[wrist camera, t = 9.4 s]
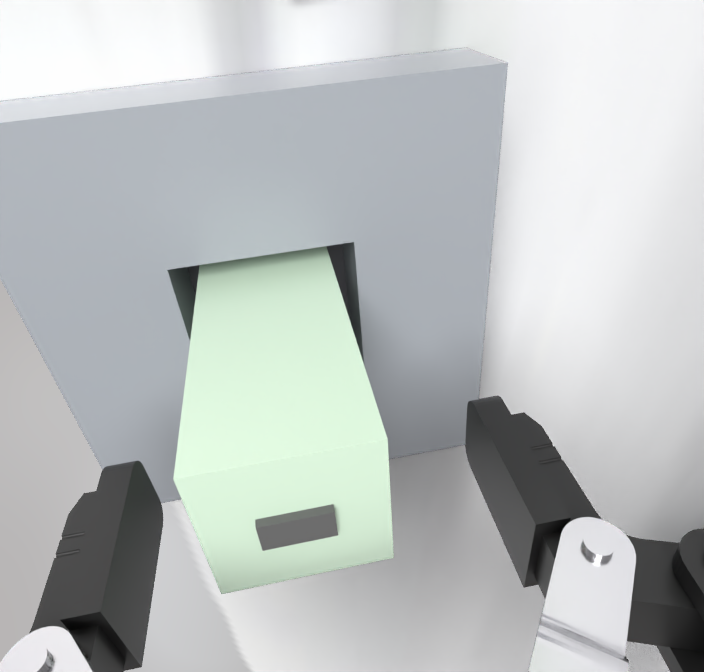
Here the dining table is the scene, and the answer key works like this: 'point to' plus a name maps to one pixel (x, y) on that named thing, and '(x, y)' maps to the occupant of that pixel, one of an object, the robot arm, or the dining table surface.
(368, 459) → the block
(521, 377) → the dining table surface
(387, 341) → the plate
